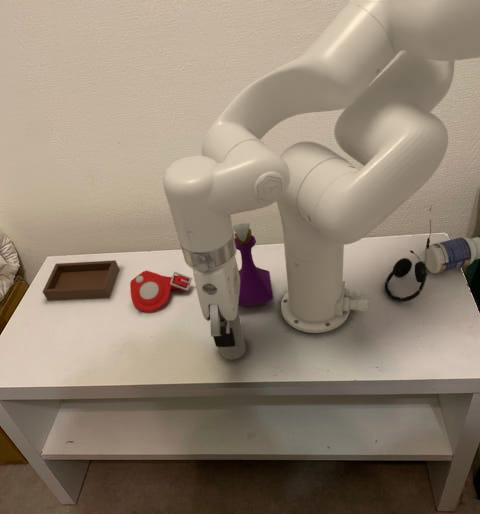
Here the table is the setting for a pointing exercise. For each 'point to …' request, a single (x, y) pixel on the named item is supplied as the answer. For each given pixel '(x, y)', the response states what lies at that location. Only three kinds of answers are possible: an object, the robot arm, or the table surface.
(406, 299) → the headset
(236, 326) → the gray hollow tube
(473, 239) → the pill bottle
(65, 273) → the shelf tray
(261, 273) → the perfume bottle
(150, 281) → the tracker holder
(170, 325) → the table surface
